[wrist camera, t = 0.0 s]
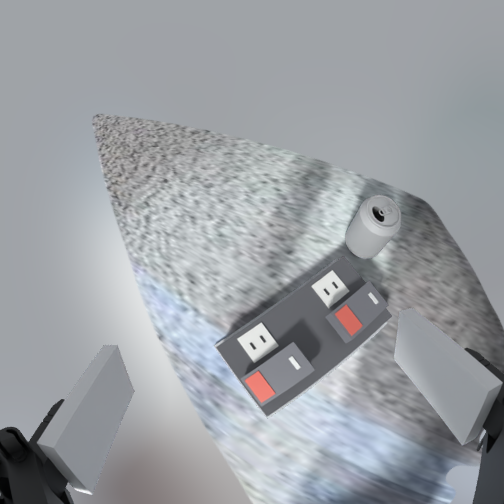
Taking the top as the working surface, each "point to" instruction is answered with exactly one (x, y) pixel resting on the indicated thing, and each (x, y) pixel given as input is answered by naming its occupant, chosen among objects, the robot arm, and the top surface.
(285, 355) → the block
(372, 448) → the top surface
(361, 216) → the can
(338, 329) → the rocker
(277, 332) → the power strip
